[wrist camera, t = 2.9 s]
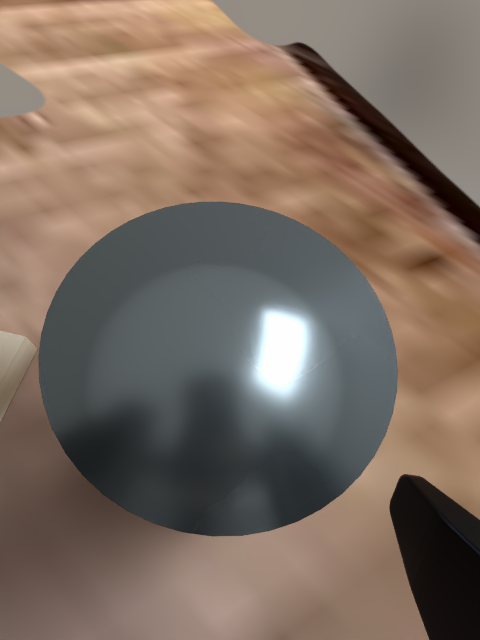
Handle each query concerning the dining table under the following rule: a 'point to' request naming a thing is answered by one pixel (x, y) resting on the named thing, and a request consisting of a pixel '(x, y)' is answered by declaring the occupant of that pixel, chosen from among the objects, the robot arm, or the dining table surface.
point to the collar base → (13, 365)
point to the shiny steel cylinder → (218, 368)
